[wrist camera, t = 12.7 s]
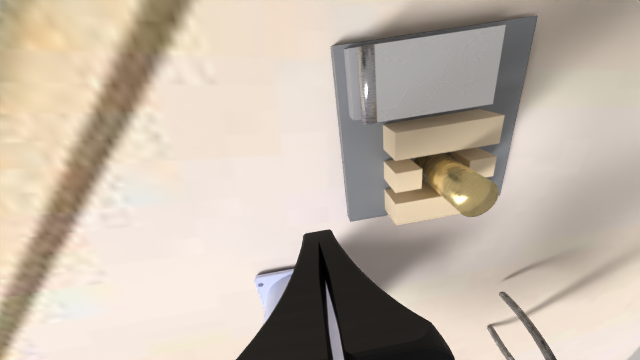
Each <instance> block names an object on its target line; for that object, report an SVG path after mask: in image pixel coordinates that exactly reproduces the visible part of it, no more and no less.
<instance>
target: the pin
mask: <svg viewBox="0 0 640 360" xmlns="http://www.w3.org/2000/svg"><path fill="white" fill-rule="evenodd" d="M414 163H416V164H417V165H418V166H419V167H421V168H422V169H423V170H422V179H423V180H424V181H425V182H426V183H427V184H429V185H430V186H431V187H432V188H433V189H434V190H435V191H436V192H438V193H439V194H440V195H441V196H442V197H443V198H444V199H445V200H447V201H448V202H449V203H450V204H451V205H452V206H453V207H454V208H456V209H457V210H458V211H459V212H460V213H461V214H462V215H464V216H468V217H475V216H479V215H481V214H483V213H485V212H486V211H488V210H489V209H490V208H491V207H492V206H493V205H494V204H495V202H496V200H497V198H498V187H497V185H496V184H495V183H494V182H492V181H491V180H489V179H487V178H486V177H484V176H482V175H481V174H479V173H477V172H476V171H474V170H472V169H471V168H469V167H467V166H465V165H464V164H462V163H460V162H459V161H457V160H455V159H454V158H452V157H450V156H449V155H447V154H445V153H439V154H433V155H428V156H422V157H416V159H415V162H414Z"/></svg>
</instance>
